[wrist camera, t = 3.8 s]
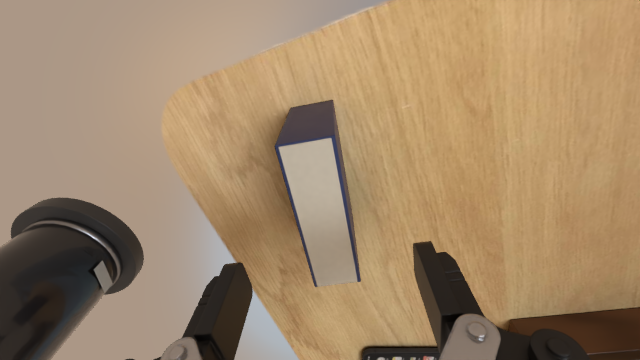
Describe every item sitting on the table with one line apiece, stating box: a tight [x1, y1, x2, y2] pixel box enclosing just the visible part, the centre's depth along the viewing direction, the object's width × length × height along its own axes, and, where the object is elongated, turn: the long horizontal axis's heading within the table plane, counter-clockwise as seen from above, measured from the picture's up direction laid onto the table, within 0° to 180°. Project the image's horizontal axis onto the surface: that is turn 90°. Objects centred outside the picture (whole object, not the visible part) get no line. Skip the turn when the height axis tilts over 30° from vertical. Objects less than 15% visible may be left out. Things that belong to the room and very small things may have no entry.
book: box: [275, 100, 361, 287], centre depth 19 cm, size 3×10×7 cm, turn 11°
